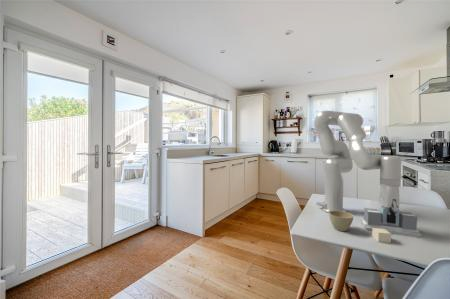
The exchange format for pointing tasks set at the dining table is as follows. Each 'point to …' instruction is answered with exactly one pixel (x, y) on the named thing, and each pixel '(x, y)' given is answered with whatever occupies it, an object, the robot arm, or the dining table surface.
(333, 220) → the olive bowl
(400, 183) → the robot arm
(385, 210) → the module
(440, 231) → the dining table surface
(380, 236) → the beige cube
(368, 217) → the rail fixture
